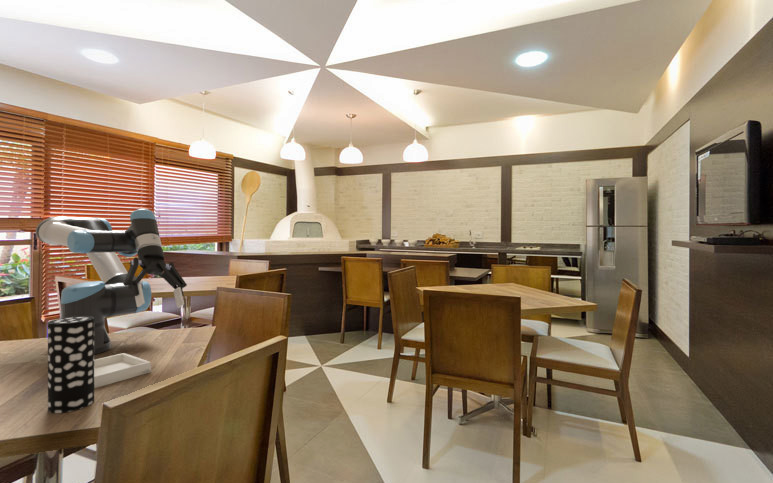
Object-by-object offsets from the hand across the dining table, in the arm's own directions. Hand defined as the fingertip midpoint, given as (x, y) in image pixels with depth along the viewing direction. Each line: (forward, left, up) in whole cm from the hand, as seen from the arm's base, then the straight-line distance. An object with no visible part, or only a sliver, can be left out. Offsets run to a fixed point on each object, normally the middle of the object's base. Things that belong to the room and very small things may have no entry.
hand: (161, 305), depth 122 cm
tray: (+2, -16, -17) cm, 24 cm away
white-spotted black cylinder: (+17, -29, -17) cm, 38 cm away
